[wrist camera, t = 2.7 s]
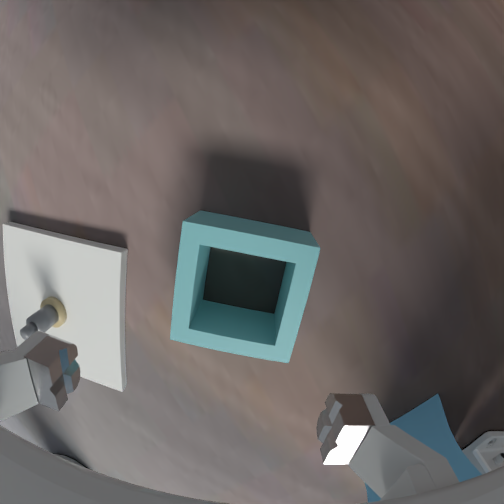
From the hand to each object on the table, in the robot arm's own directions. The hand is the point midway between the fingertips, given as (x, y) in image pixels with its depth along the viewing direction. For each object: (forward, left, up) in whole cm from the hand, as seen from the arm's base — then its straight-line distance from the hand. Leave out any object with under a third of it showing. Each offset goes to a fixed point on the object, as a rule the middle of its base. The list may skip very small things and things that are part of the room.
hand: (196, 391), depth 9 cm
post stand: (+13, +6, -11) cm, 19 cm away
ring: (-1, 0, -11) cm, 11 cm away
